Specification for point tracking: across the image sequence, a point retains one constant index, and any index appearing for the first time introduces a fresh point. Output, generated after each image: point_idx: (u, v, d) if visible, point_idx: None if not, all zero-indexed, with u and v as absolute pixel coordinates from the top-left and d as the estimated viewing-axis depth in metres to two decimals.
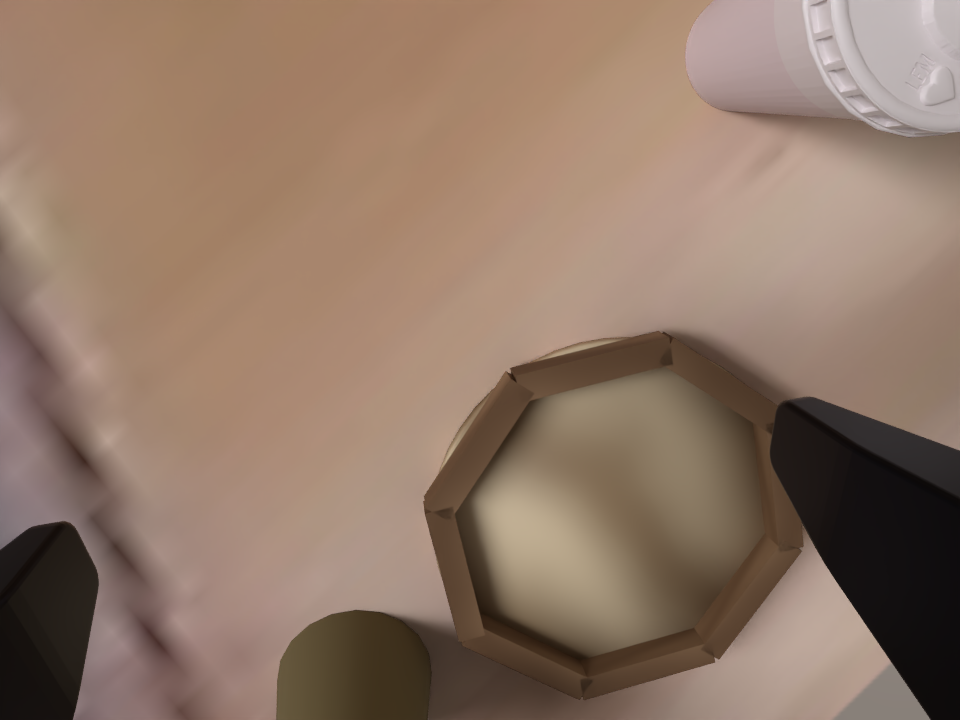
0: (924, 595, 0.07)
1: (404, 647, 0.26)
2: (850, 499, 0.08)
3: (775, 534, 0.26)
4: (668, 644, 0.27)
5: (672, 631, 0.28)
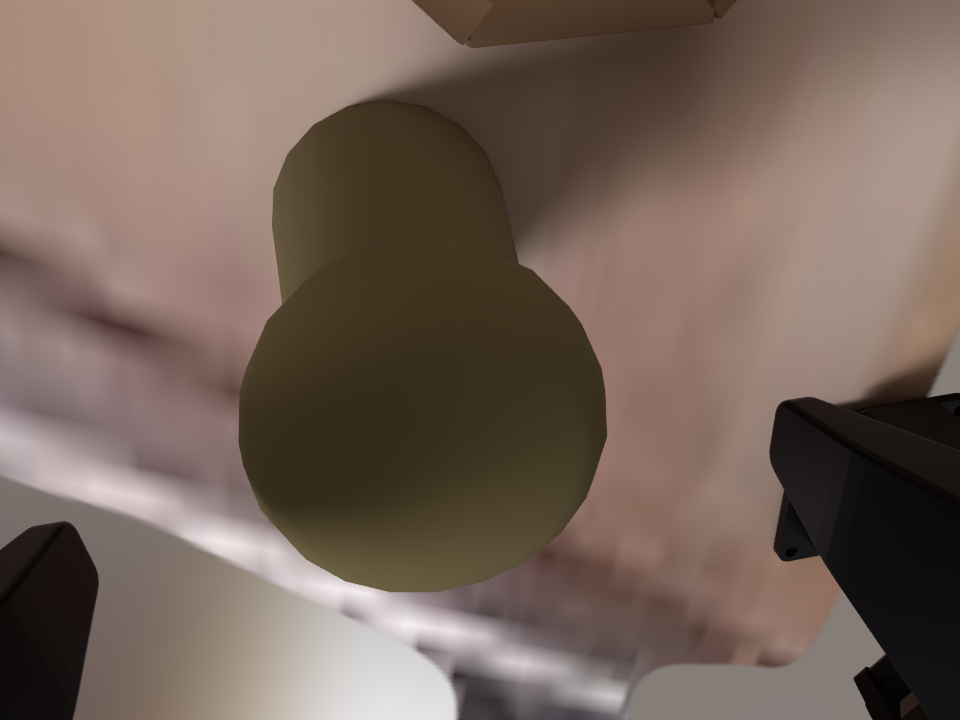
0: (924, 595, 0.07)
1: (399, 117, 0.16)
2: (850, 499, 0.08)
3: None
4: None
5: None
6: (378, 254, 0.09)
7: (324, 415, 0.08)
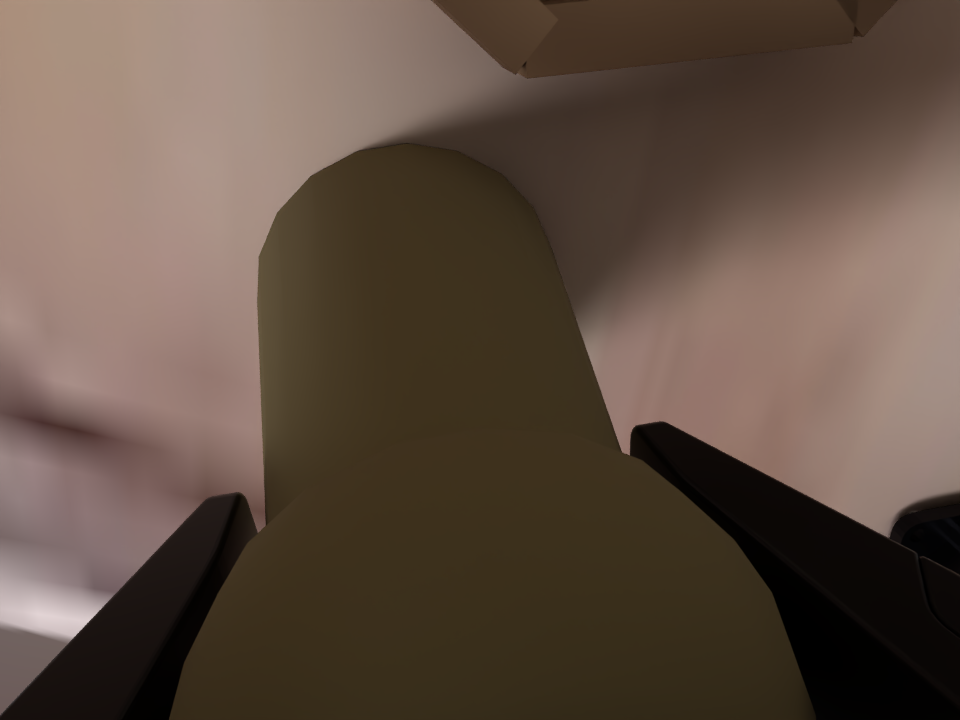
0: None
1: (425, 169, 0.12)
2: None
3: None
4: None
5: None
6: (420, 496, 0.05)
7: None
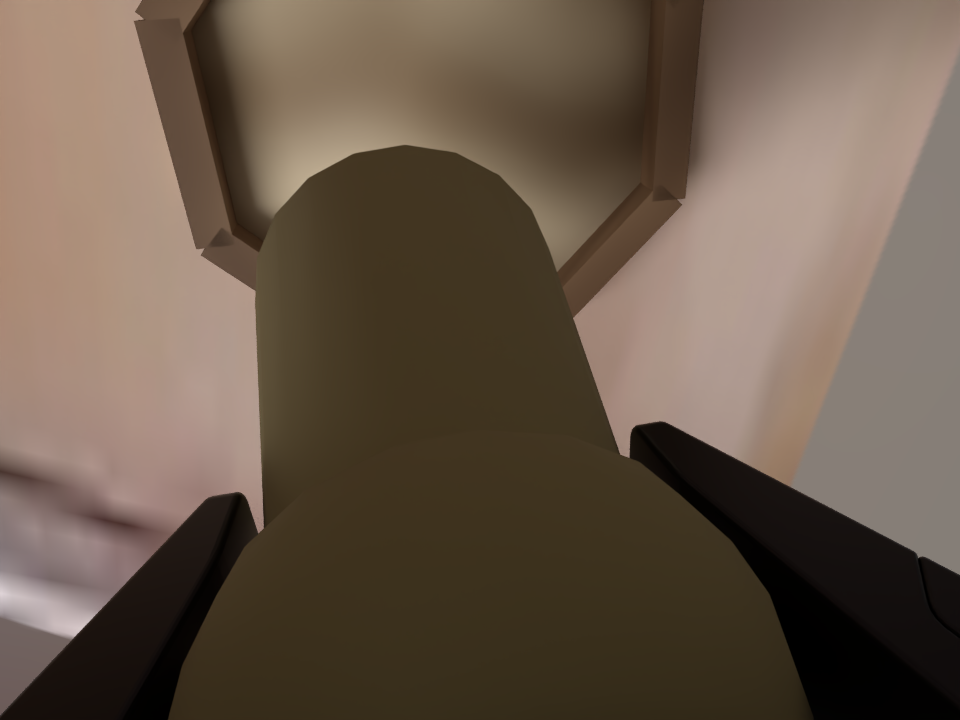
0: None
1: (423, 170, 0.12)
2: None
3: None
4: (614, 220, 0.20)
5: (615, 203, 0.21)
6: (417, 501, 0.05)
7: None
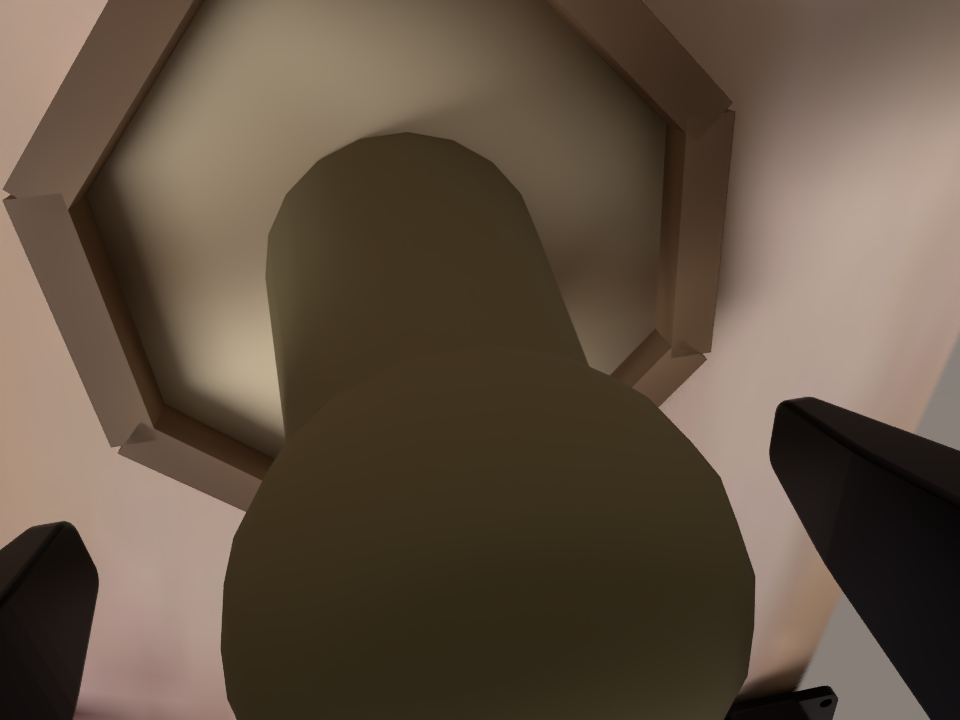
0: (924, 595, 0.07)
1: (424, 153, 0.13)
2: (850, 499, 0.08)
3: (668, 116, 0.13)
4: (625, 376, 0.17)
5: (625, 352, 0.17)
6: (436, 385, 0.06)
7: (359, 662, 0.05)
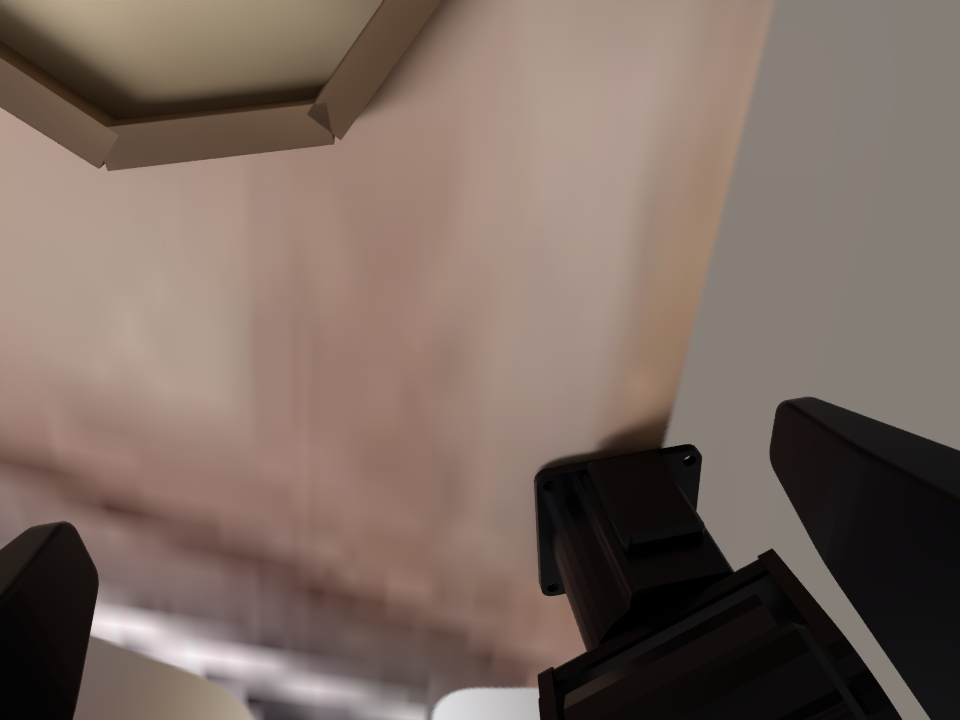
0: (924, 595, 0.07)
1: None
2: (850, 499, 0.08)
3: None
4: None
5: None
6: None
7: None
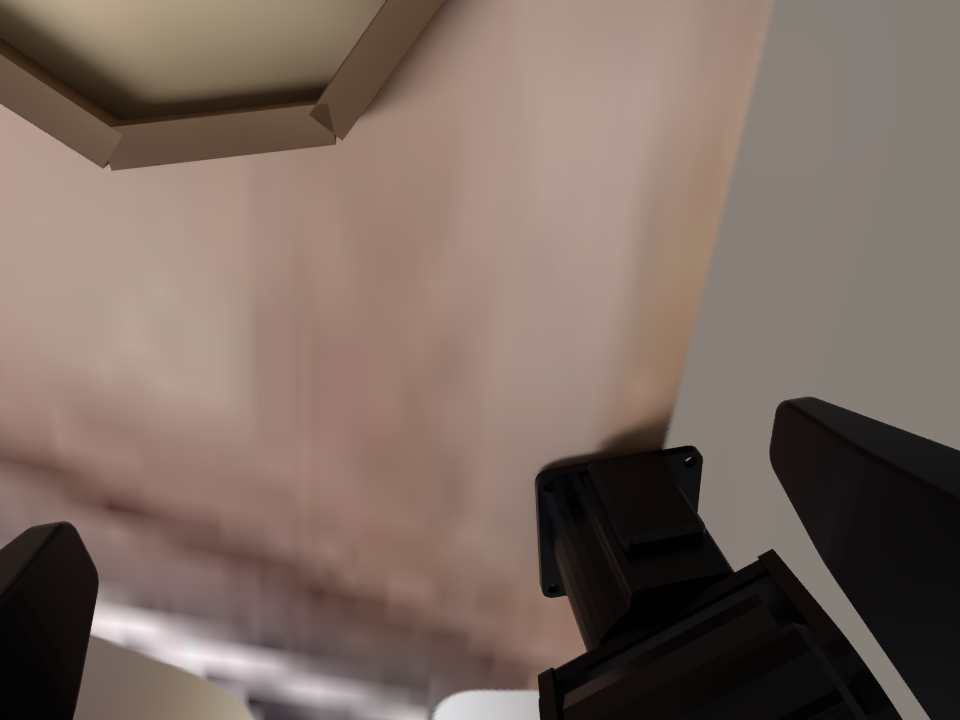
0: (924, 595, 0.07)
1: None
2: (850, 499, 0.08)
3: None
4: None
5: None
6: None
7: None
